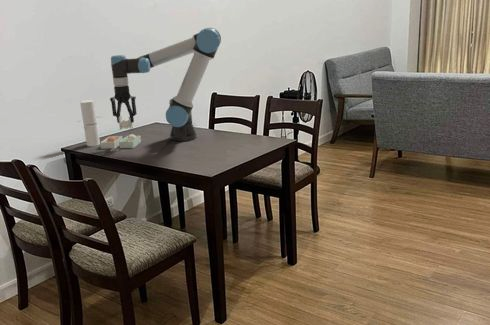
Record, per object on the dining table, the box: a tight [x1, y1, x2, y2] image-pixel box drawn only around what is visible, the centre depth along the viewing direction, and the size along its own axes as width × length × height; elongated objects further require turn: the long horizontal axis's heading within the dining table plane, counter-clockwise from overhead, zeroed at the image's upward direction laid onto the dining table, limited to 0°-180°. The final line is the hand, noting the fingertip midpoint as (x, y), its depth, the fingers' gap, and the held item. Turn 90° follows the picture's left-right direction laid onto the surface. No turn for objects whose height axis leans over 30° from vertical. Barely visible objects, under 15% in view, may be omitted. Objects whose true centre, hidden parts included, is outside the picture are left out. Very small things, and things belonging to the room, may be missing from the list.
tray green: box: [119, 135, 142, 149], centre depth 269 cm, size 8×13×4 cm, turn 174°
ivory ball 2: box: [127, 134, 137, 142], centre depth 271 cm, size 5×5×5 cm
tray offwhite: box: [100, 135, 124, 150], centre depth 270 cm, size 8×13×4 cm, turn 174°
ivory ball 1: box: [121, 118, 130, 130], centre depth 263 cm, size 5×5×5 cm
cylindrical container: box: [79, 99, 101, 147], centre depth 271 cm, size 7×7×25 cm
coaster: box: [109, 148, 120, 152], centre depth 260 cm, size 4×4×1 cm
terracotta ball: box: [107, 135, 116, 142], centre depth 270 cm, size 5×5×5 cm
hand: (126, 128), depth 264 cm, fingers closed on ivory ball 1, 5 cm apart
